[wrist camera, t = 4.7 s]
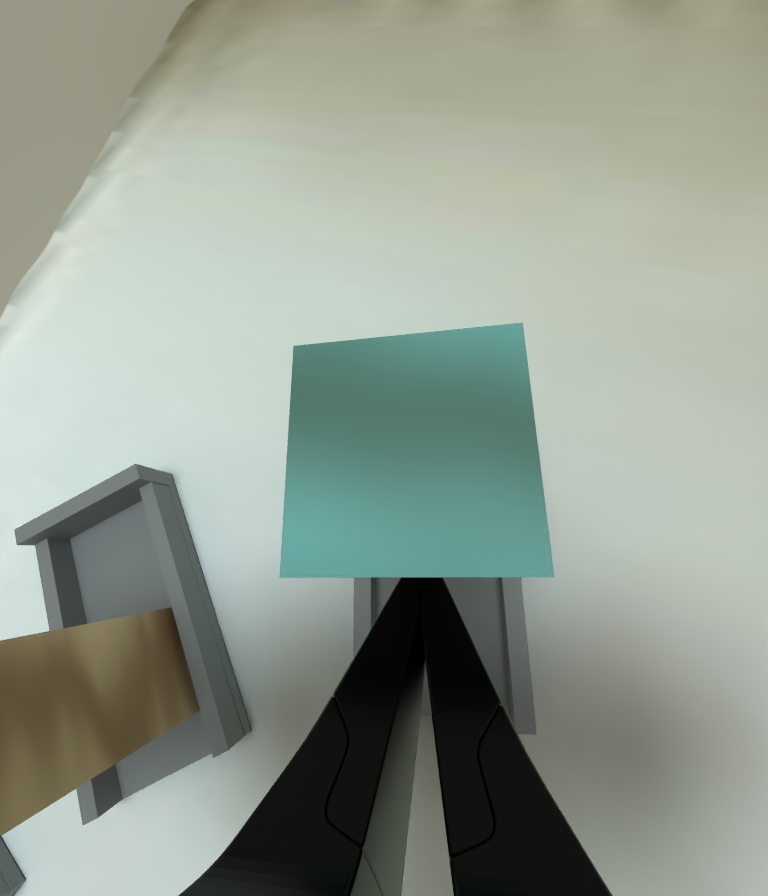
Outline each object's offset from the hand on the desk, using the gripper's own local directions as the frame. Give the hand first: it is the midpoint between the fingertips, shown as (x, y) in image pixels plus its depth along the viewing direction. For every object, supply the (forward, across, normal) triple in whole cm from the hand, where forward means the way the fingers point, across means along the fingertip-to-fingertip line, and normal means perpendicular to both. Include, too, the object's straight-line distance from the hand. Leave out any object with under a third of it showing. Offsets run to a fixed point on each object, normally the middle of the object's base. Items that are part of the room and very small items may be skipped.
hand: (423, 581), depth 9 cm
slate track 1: (+4, +14, +8) cm, 17 cm away
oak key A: (+7, 0, +4) cm, 8 cm away
